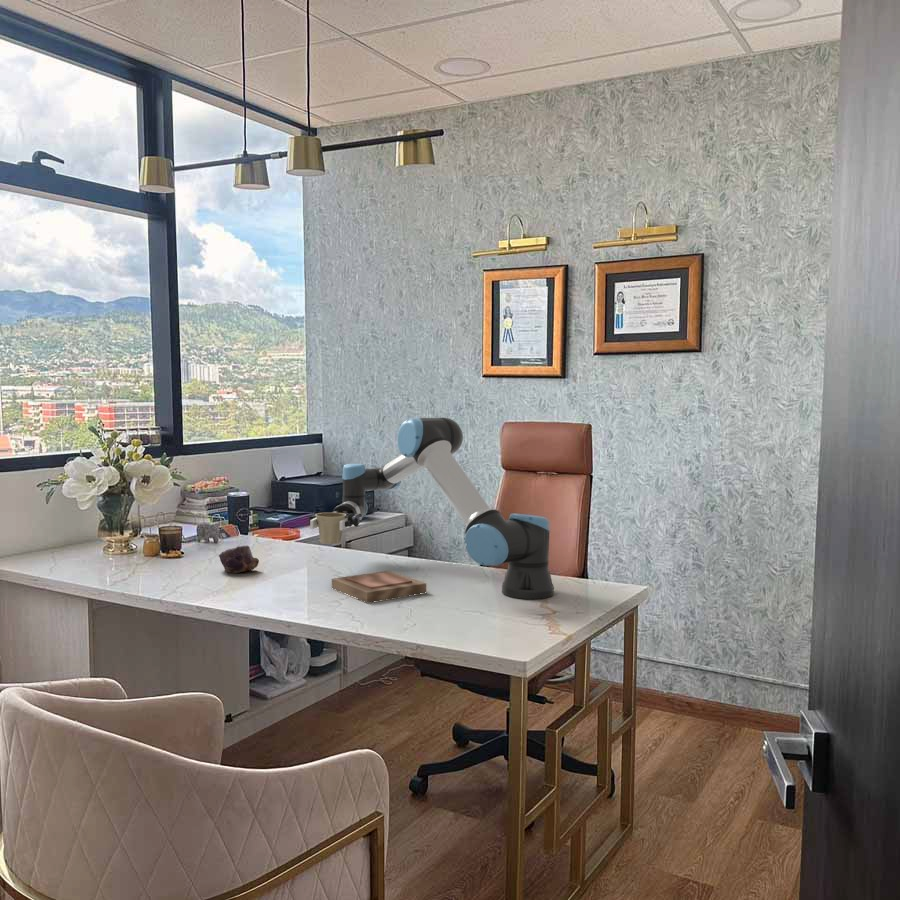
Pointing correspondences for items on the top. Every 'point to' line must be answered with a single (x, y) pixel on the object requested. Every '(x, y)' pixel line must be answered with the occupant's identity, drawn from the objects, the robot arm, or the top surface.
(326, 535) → the flower pot
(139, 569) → the top surface
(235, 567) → the rock
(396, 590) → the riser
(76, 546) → the top surface
